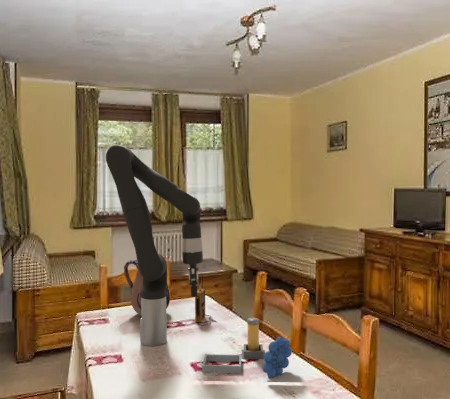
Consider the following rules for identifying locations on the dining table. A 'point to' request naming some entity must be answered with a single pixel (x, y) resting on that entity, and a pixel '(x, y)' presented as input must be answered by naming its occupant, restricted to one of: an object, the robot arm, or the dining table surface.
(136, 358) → the dining table surface
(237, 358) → the tray
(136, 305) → the ceramic pitcher
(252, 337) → the cylinder
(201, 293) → the multimeter
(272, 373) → the grapes
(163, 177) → the robot arm
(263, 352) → the socket block
